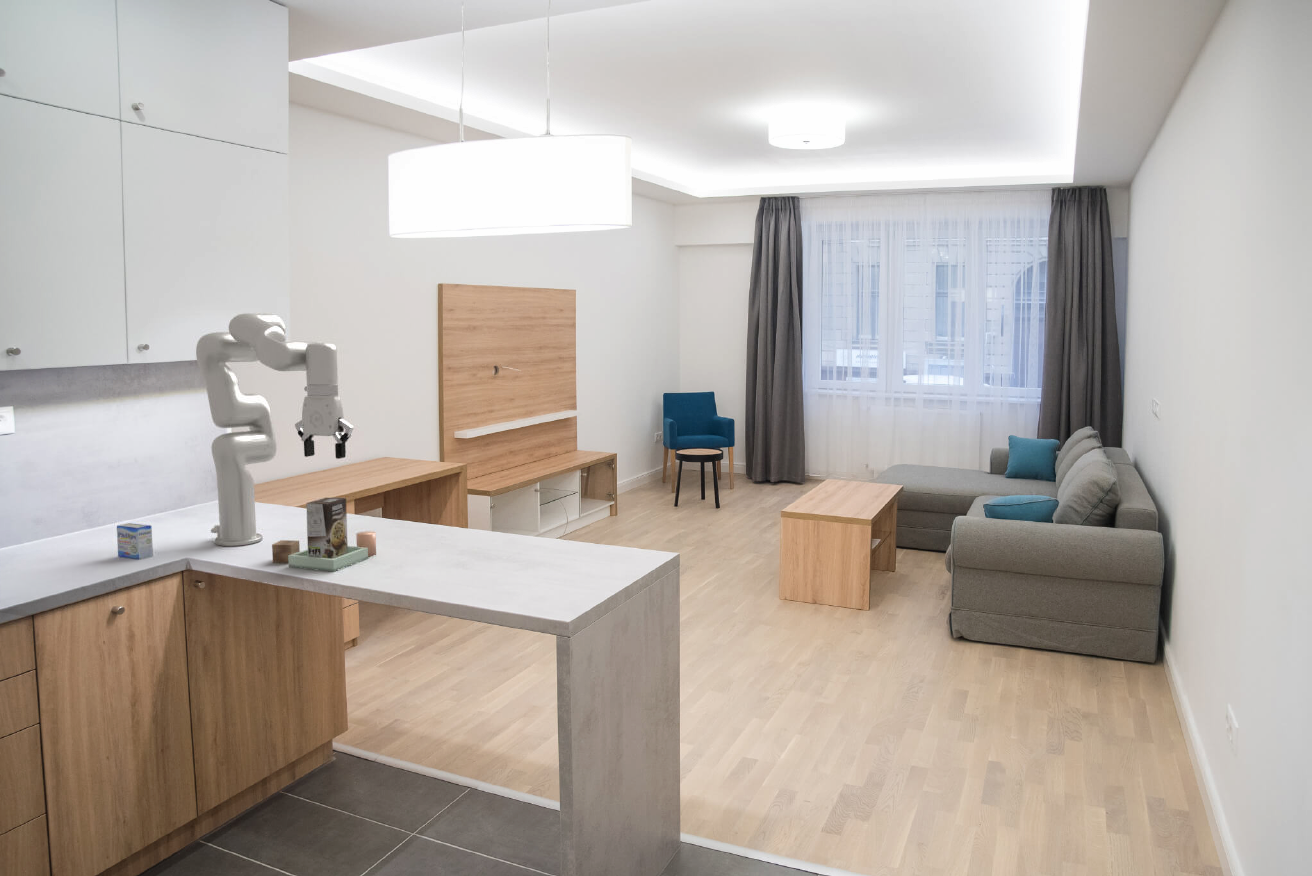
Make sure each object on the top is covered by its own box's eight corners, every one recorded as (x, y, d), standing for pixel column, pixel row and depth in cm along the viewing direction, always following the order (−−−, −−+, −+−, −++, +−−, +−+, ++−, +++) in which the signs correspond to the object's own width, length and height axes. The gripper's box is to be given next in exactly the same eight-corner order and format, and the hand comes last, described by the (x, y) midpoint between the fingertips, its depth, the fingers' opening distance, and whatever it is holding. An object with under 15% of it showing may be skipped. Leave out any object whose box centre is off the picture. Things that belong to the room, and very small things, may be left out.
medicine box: (117, 557, 242) (115, 525, 241) (132, 553, 247) (130, 522, 246) (139, 559, 240) (137, 527, 239) (153, 556, 244) (151, 524, 243)
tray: (288, 566, 233) (288, 555, 233) (324, 554, 247) (324, 543, 246) (334, 571, 229) (333, 560, 229) (368, 558, 242) (367, 547, 242)
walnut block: (272, 563, 237) (272, 544, 237) (281, 558, 242) (281, 540, 242) (291, 563, 237) (290, 545, 237) (299, 558, 242) (299, 540, 242)
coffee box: (329, 565, 233) (327, 503, 231) (307, 563, 234) (304, 502, 232) (349, 556, 242) (347, 497, 240) (328, 555, 243) (325, 496, 241)
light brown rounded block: (353, 556, 245) (352, 534, 244) (364, 552, 250) (363, 530, 249) (368, 557, 243) (368, 536, 243) (380, 553, 248) (379, 532, 247)
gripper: (284, 391, 232) (287, 457, 234) (341, 393, 226) (343, 460, 228) (304, 389, 239) (307, 453, 241) (360, 391, 233) (362, 457, 235)
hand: (324, 457), depth 235 cm, fingers open, 9 cm apart
